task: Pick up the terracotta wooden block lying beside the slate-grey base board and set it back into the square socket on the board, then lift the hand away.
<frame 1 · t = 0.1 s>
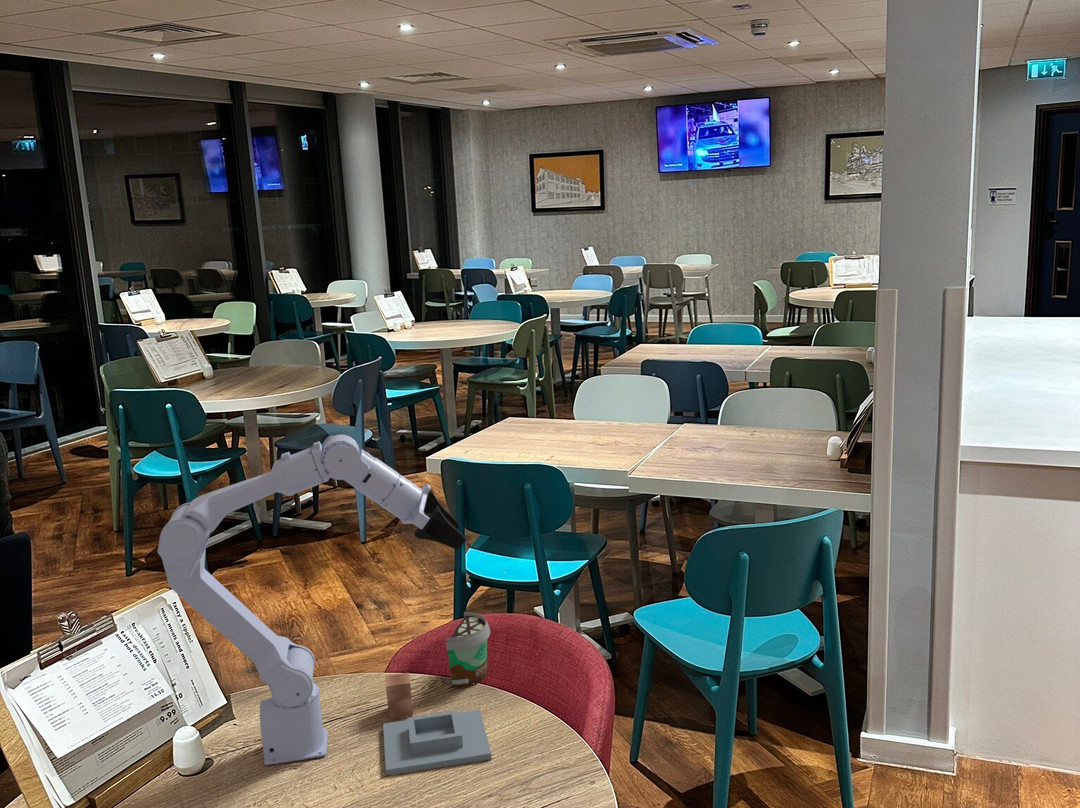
hand: (458, 536, 152), 32 cm above the table, tool tilted 50°, fingers open, 7 cm apart
base board: (435, 743, 151), on the table
terracotta block: (400, 712, 162), on the table
food container: (476, 677, 173), on the table
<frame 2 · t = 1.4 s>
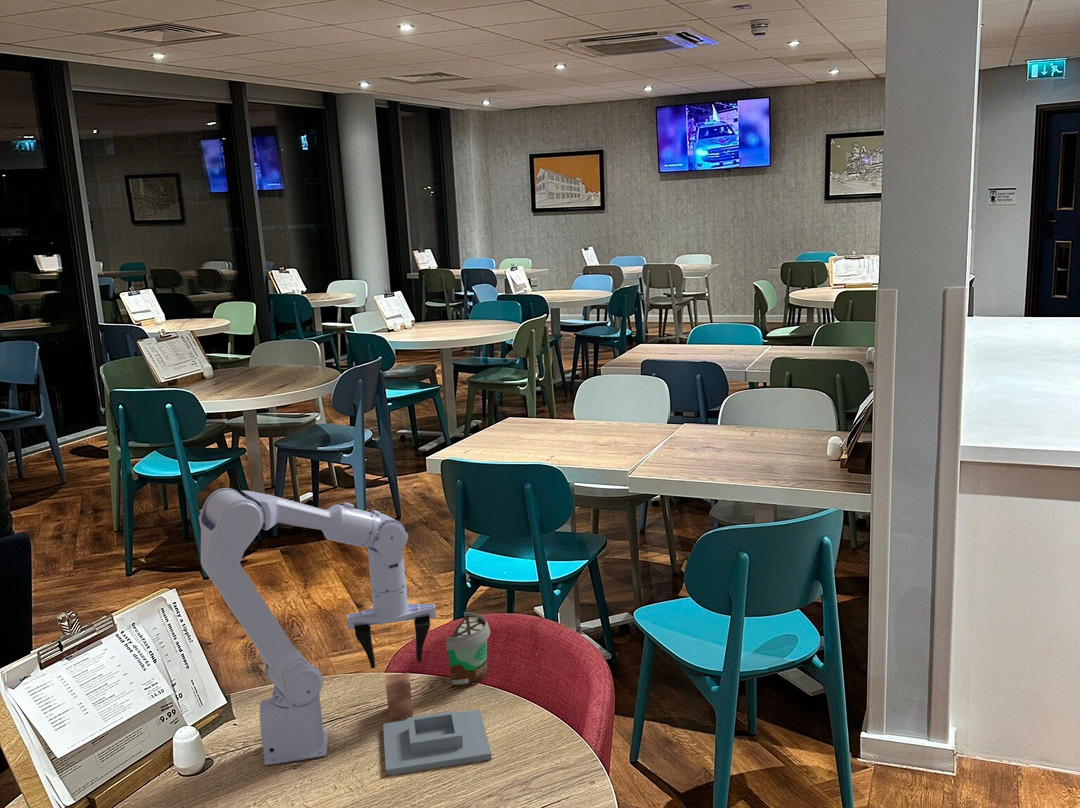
hand: (396, 662, 161), 9 cm above the table, tool pointing down, fingers open, 7 cm apart
nothing on the table moved.
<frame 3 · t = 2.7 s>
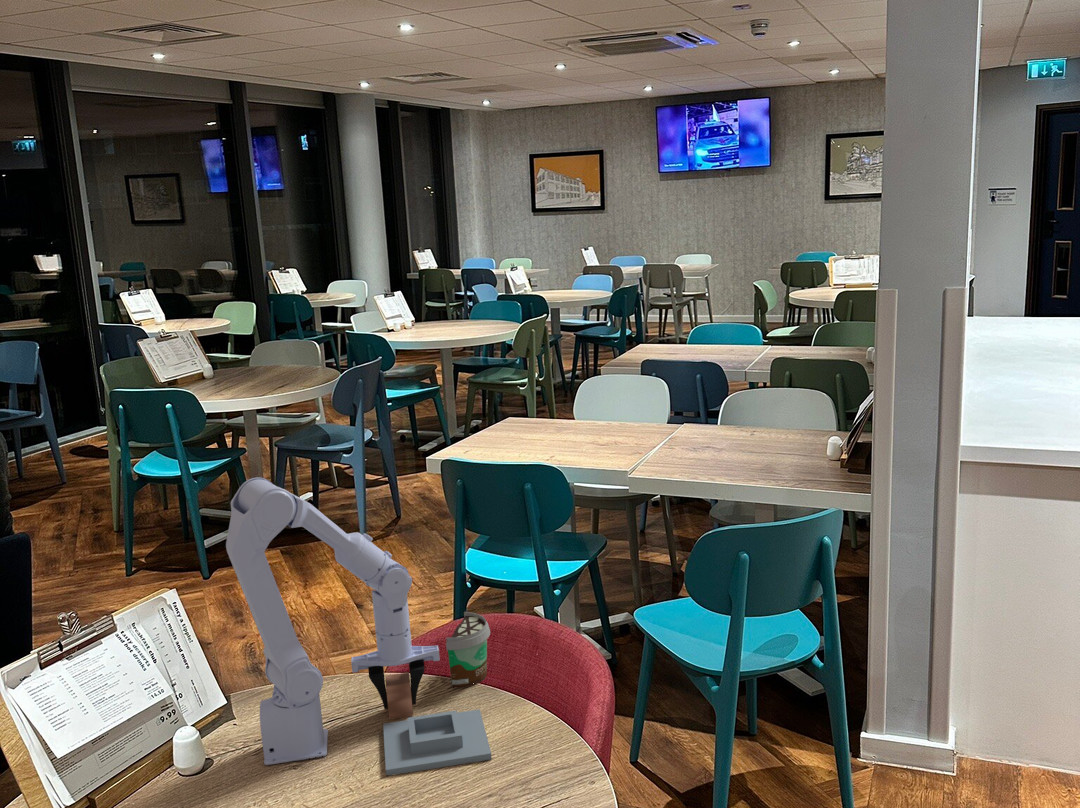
hand: (400, 704, 162), 1 cm above the table, tool pointing down, fingers closed on terracotta block, 4 cm apart
terracotta block: (400, 711, 162), on the table, touching gripper
everything else where it was.
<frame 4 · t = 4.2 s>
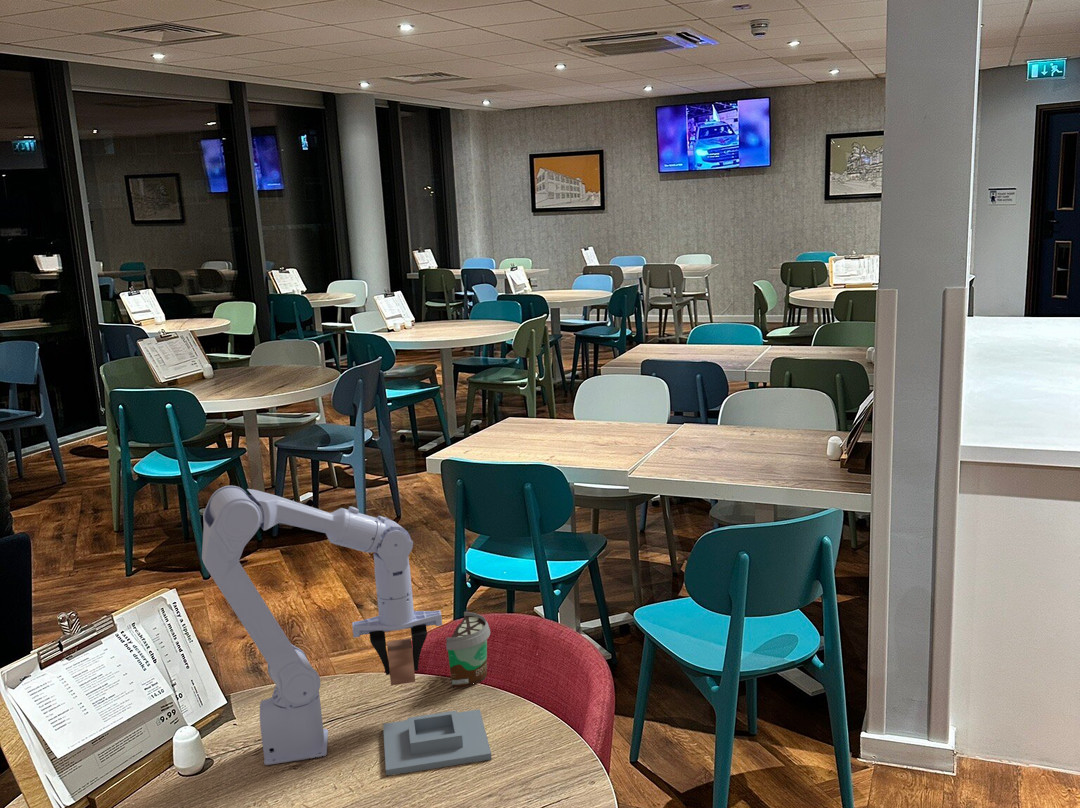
hand: (401, 670, 159), 8 cm above the table, tool pointing down, fingers closed on terracotta block, 4 cm apart
terracotta block: (402, 678, 159), point 7 cm above the table, touching gripper
everything else where it was.
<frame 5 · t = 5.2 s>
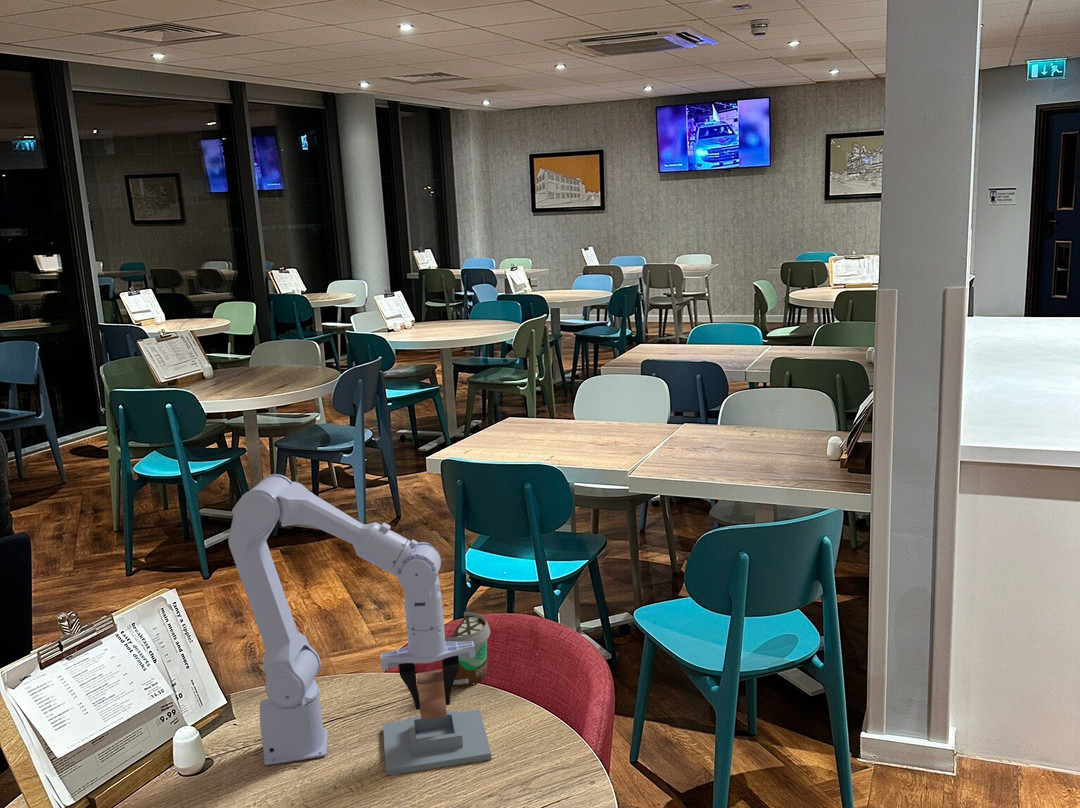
hand: (432, 704, 150), 7 cm above the table, tool pointing down, fingers closed on terracotta block, 4 cm apart
terracotta block: (433, 712, 151), point 5 cm above the table, touching gripper
everything else where it was.
when the fingers open (4 cm above the table, at t = 6.1 s): terracotta block drops 1 cm, resting on base board.
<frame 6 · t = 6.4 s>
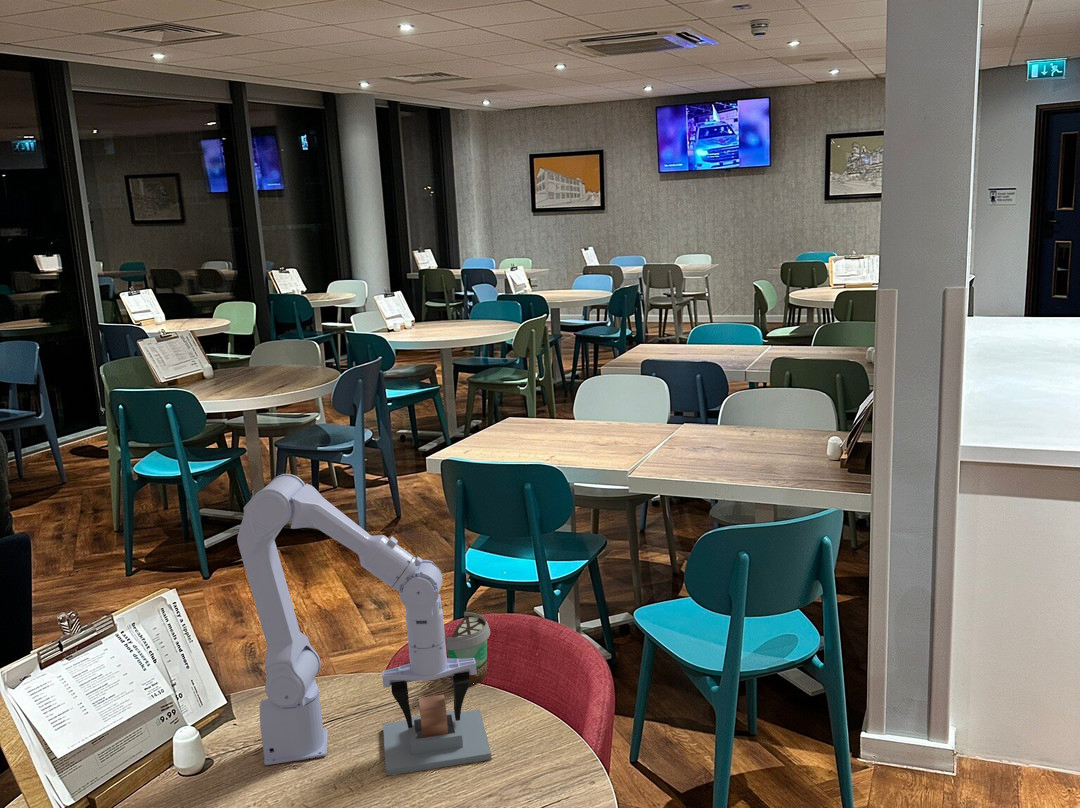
hand: (433, 721, 151), 4 cm above the table, tool pointing down, fingers open, 7 cm apart
terracotta block: (435, 737, 152), point 1 cm above the table, touching base board
everything else where it was.
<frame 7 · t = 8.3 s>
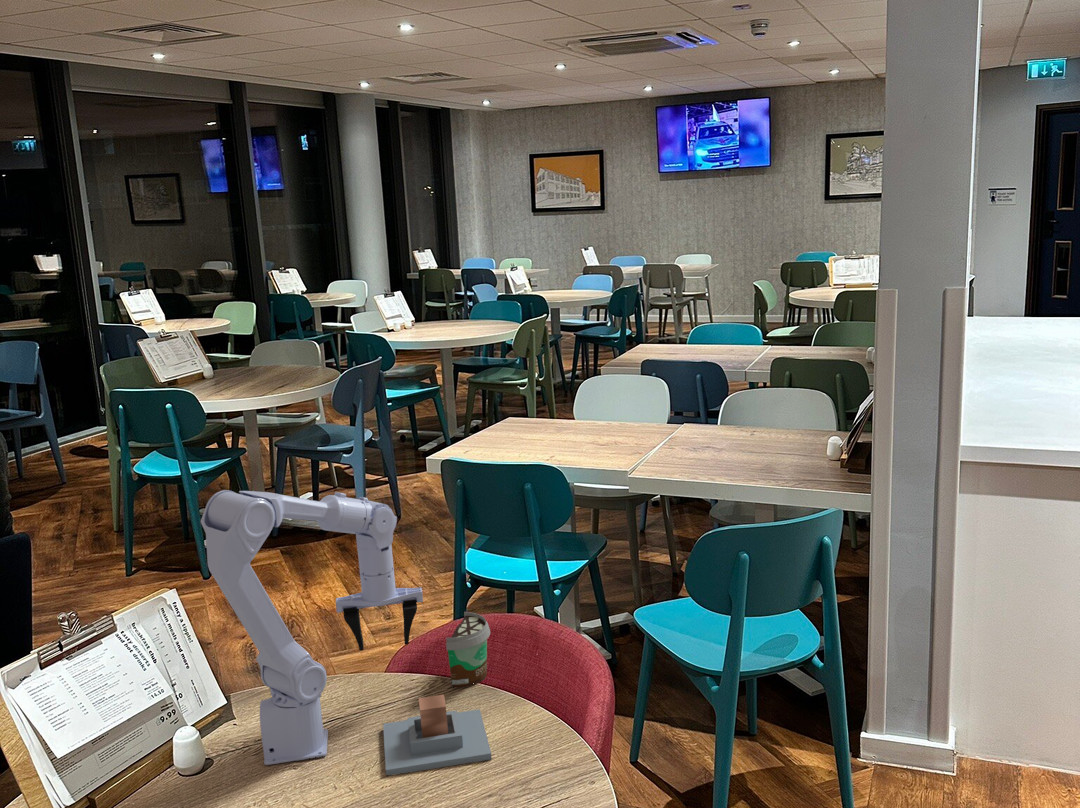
hand: (384, 645, 164), 10 cm above the table, tool pointing down, fingers open, 7 cm apart
nothing on the table moved.
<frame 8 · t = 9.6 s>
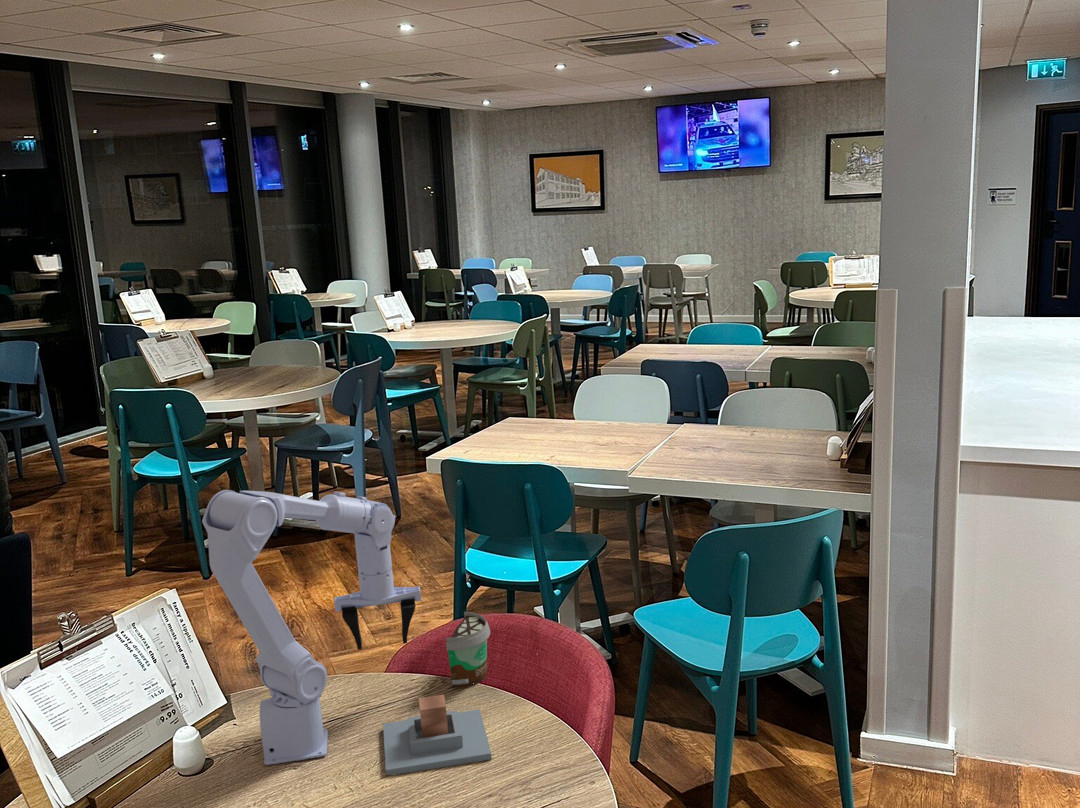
hand: (382, 644, 165), 10 cm above the table, tool pointing down, fingers open, 7 cm apart
nothing on the table moved.
at the end: terracotta block 0.2 cm off-centre on the base board, point 1.0 cm above the base board's base; terracotta block tilted 0°; the gripper is holding nothing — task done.
